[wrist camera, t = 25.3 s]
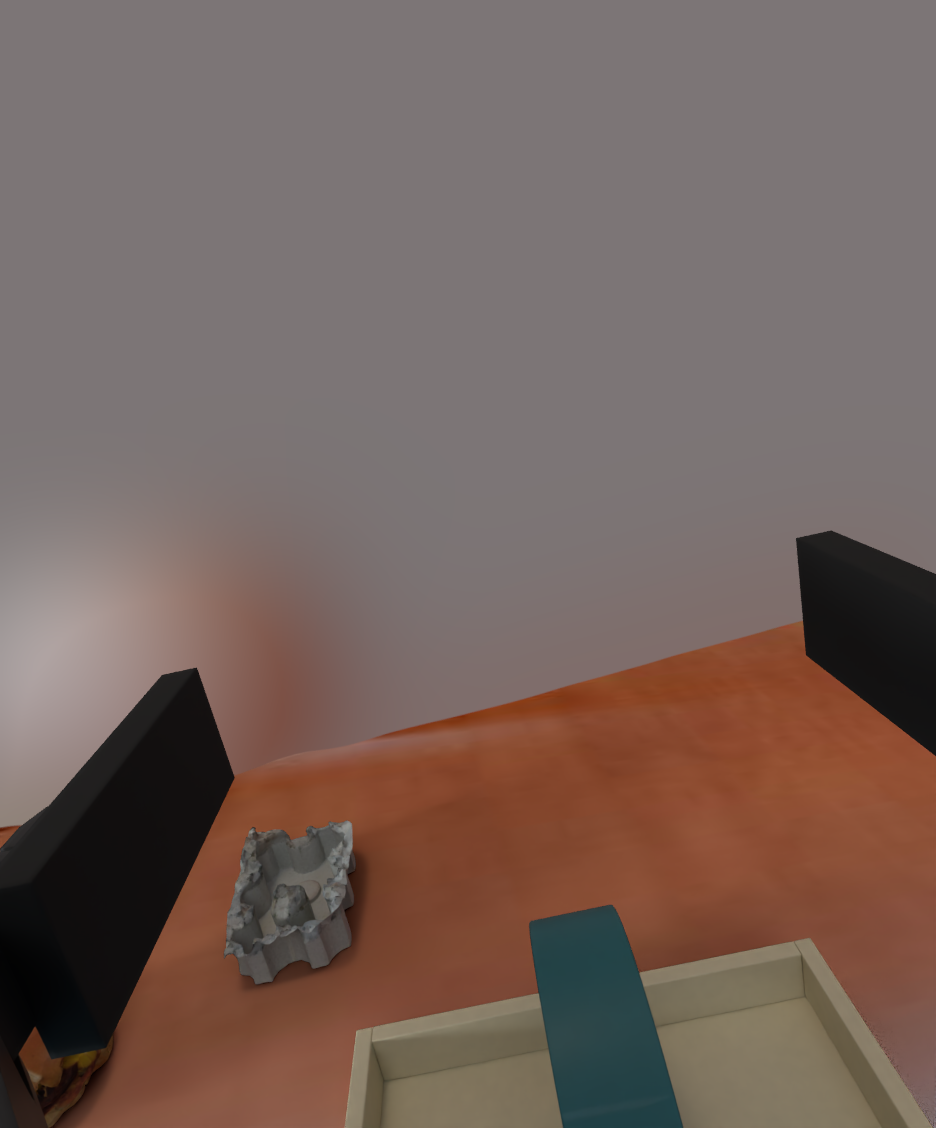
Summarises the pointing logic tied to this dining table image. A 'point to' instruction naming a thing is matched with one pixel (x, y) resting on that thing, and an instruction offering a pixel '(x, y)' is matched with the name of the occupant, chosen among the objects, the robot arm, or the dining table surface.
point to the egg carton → (291, 900)
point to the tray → (689, 1043)
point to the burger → (59, 1075)
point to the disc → (599, 1024)
